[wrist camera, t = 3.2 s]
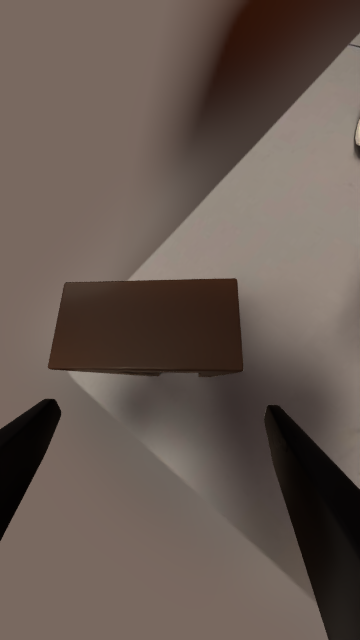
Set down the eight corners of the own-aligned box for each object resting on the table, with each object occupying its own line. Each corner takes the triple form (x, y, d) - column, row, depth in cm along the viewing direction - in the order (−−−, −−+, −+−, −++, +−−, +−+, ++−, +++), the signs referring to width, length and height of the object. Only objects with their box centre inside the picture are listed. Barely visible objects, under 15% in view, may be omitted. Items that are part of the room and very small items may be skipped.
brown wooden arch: (211, 377, 18) (244, 372, 6) (146, 376, 19) (46, 369, 6) (210, 344, 19) (237, 277, 7) (148, 344, 19) (63, 281, 7)
